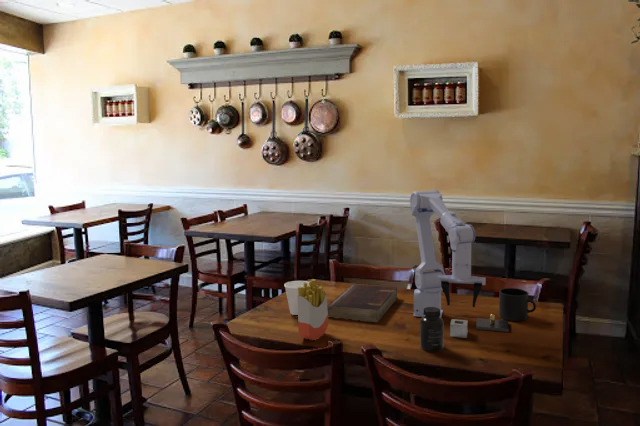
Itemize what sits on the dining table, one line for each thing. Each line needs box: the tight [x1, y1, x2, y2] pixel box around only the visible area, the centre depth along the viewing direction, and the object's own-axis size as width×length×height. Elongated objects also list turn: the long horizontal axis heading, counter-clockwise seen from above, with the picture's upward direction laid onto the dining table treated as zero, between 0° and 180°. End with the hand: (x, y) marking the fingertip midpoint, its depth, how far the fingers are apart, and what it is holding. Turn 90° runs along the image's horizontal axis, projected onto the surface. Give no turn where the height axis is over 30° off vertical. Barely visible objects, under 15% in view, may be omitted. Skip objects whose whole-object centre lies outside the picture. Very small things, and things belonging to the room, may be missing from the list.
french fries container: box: [297, 278, 329, 341], centre depth 166 cm, size 5×11×18 cm, turn 147°
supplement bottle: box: [419, 307, 445, 353], centre depth 156 cm, size 7×7×12 cm
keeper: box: [475, 313, 510, 333], centre depth 173 cm, size 10×8×4 cm
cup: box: [284, 280, 309, 316], centre depth 190 cm, size 10×10×11 cm
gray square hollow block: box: [449, 318, 469, 339], centre depth 166 cm, size 5×5×4 cm
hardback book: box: [327, 283, 398, 323], centre depth 196 cm, size 29×19×5 cm, turn 158°
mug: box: [498, 287, 537, 322], centre depth 180 cm, size 9×12×9 cm
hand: (461, 305), depth 166 cm, fingers open, 7 cm apart
